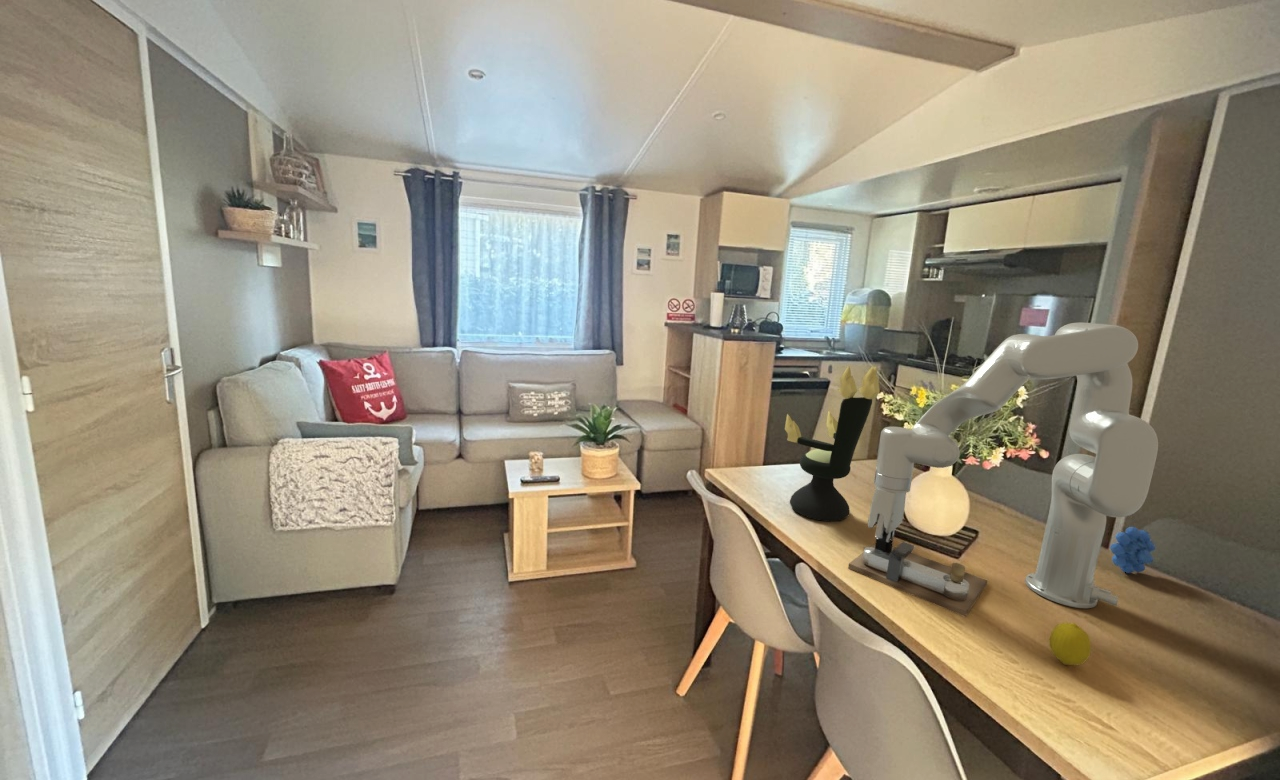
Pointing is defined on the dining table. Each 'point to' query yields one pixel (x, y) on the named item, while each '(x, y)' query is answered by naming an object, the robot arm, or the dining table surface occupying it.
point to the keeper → (898, 561)
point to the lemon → (1070, 644)
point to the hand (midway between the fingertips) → (882, 554)
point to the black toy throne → (833, 451)
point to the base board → (927, 594)
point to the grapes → (1132, 550)
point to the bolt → (919, 574)
